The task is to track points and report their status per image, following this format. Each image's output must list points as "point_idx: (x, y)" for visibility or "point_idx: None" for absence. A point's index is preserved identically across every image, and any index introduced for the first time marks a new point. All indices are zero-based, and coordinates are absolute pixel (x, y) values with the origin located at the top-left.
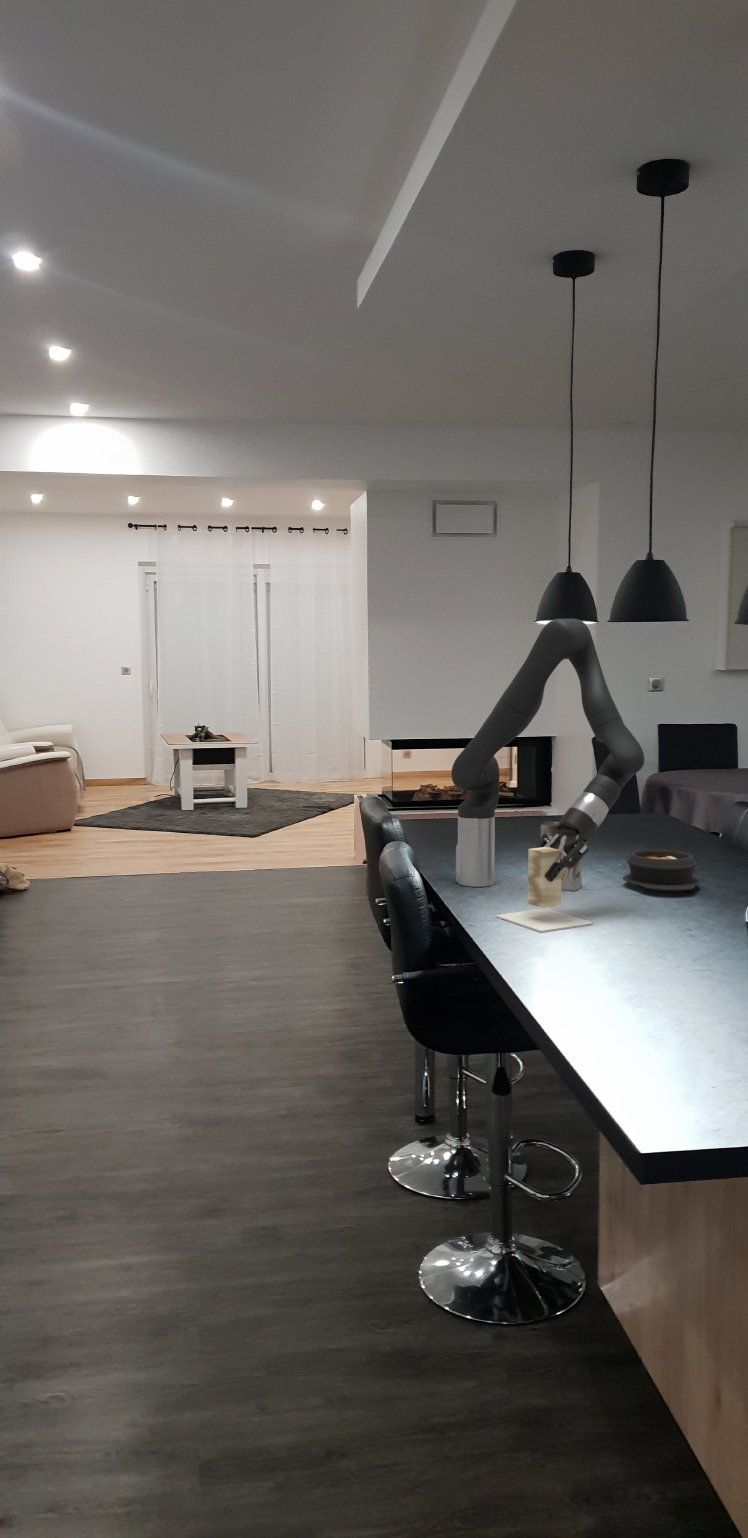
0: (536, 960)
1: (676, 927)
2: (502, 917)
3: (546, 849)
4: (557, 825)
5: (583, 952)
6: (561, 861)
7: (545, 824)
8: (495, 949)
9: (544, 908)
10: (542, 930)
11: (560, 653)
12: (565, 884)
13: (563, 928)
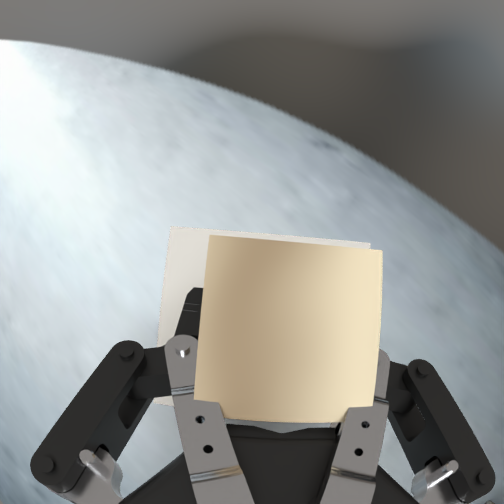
0: (63, 104)
1: (60, 497)
2: (341, 240)
3: (287, 344)
4: None
5: (30, 196)
6: (163, 358)
7: None
8: (146, 82)
9: None
10: (171, 231)
11: None
12: None
13: (162, 301)
